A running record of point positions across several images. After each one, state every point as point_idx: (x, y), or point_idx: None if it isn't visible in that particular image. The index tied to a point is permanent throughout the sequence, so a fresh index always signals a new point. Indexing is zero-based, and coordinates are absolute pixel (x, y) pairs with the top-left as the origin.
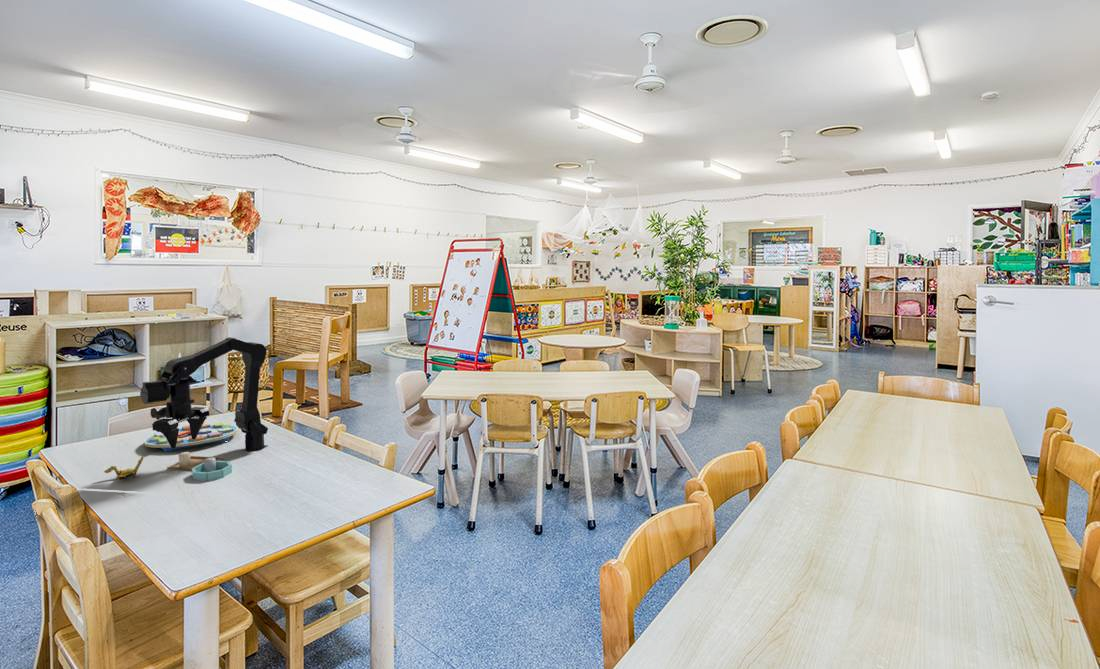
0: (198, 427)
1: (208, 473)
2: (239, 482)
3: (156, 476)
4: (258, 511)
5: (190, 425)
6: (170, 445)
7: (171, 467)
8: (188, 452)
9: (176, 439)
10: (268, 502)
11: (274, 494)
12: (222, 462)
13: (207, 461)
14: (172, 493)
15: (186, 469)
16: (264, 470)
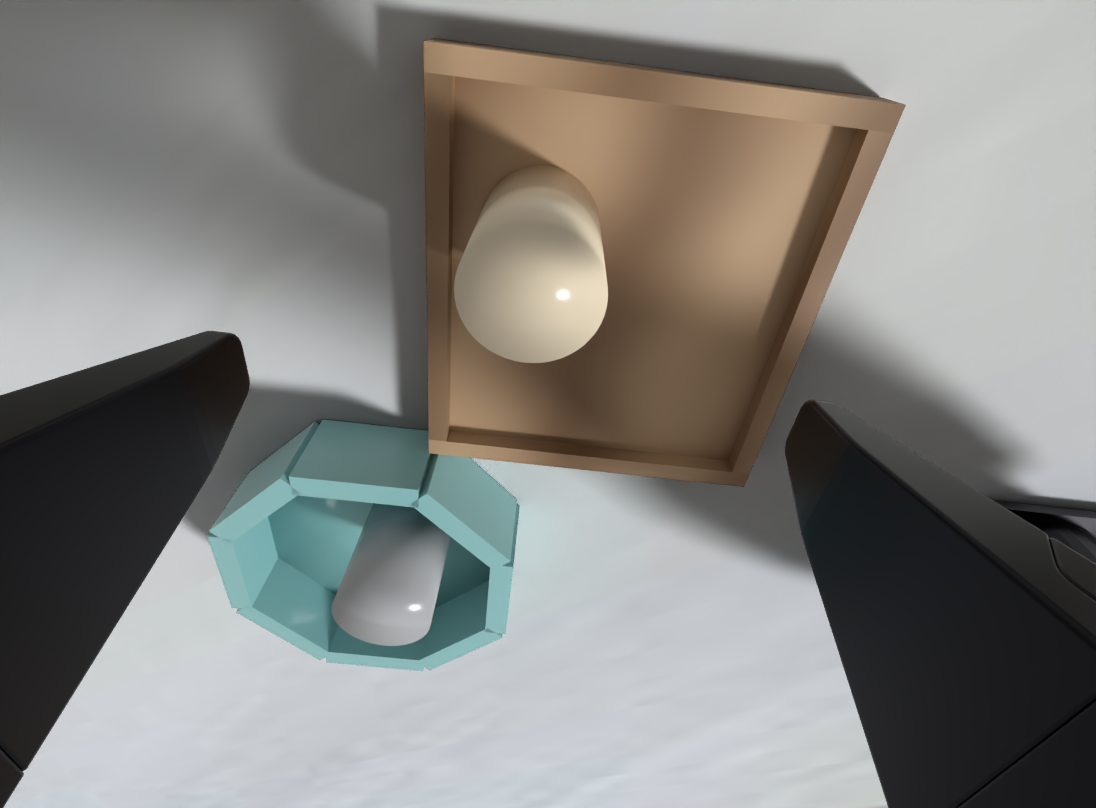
0: (878, 747)
1: (243, 613)
2: (325, 673)
3: (235, 20)
4: (89, 787)
5: (1059, 662)
6: (154, 356)
7: (428, 116)
8: (576, 332)
9: (104, 589)
10: (171, 791)
11: (246, 788)
12: (487, 603)
13: (336, 613)
14: None
15: (430, 311)
16: (519, 707)
